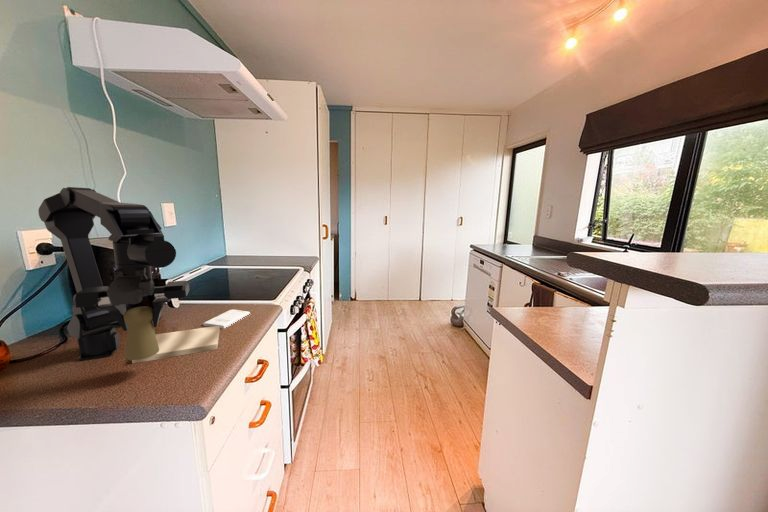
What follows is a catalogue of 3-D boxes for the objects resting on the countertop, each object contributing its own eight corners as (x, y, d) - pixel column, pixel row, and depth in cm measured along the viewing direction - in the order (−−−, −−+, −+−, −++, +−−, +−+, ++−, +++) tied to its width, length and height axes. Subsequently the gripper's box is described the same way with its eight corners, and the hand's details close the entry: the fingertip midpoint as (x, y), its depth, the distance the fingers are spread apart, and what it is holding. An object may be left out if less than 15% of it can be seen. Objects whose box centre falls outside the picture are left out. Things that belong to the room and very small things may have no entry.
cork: (124, 352, 64) (119, 307, 62) (157, 344, 68) (154, 301, 67) (125, 363, 60) (120, 315, 58) (160, 354, 64) (157, 309, 62)
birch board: (132, 363, 69) (131, 358, 68) (147, 340, 80) (146, 335, 80) (216, 349, 77) (216, 344, 76) (219, 330, 88) (219, 325, 88)
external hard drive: (250, 315, 101) (224, 330, 89) (230, 313, 103) (202, 326, 91) (250, 311, 101) (223, 325, 89) (230, 309, 102) (202, 322, 91)
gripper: (50, 273, 50) (64, 353, 52) (178, 267, 58) (184, 336, 61) (81, 261, 59) (92, 329, 62) (187, 257, 68) (192, 317, 71)
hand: (141, 328), depth 64 cm, fingers closed on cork, 5 cm apart
